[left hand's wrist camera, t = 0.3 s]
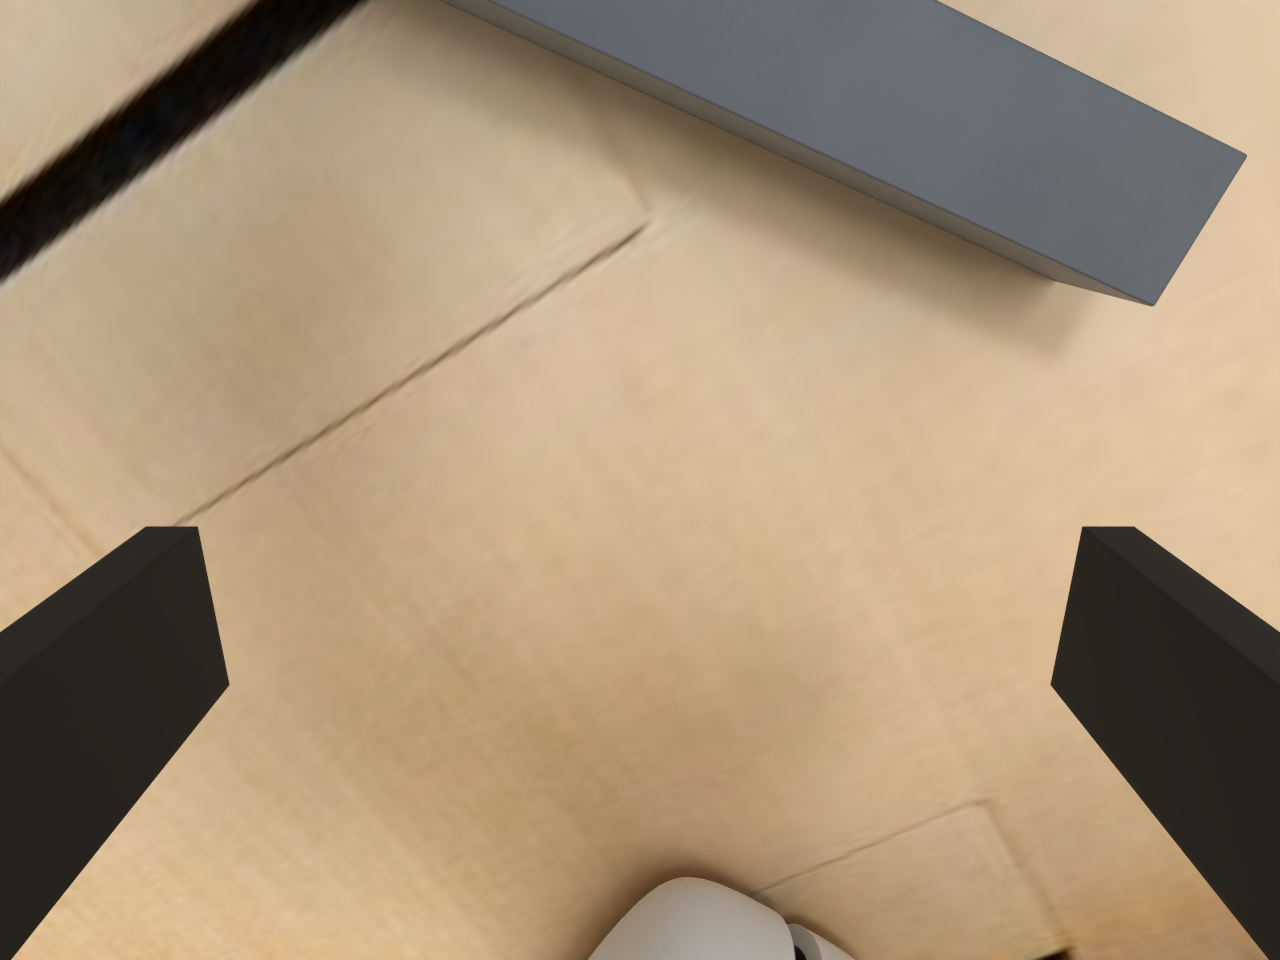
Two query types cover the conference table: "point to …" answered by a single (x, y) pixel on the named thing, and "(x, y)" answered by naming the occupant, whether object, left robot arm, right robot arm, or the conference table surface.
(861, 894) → the conference table surface
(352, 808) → the conference table surface
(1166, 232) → the post
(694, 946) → the projector
